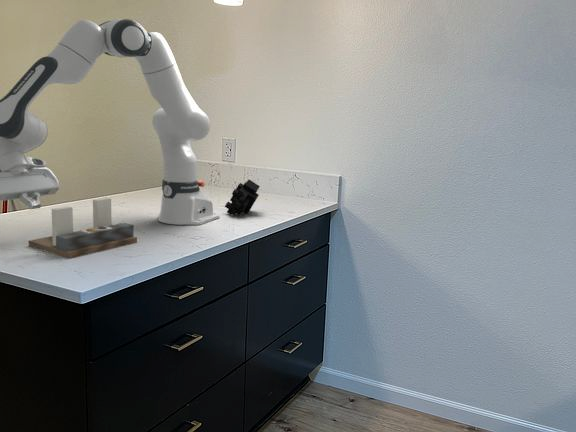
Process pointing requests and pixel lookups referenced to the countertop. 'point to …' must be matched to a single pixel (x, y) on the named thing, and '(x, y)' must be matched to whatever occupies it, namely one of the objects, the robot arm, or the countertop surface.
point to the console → (88, 240)
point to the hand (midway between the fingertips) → (36, 207)
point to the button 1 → (61, 222)
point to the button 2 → (101, 212)
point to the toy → (243, 198)
